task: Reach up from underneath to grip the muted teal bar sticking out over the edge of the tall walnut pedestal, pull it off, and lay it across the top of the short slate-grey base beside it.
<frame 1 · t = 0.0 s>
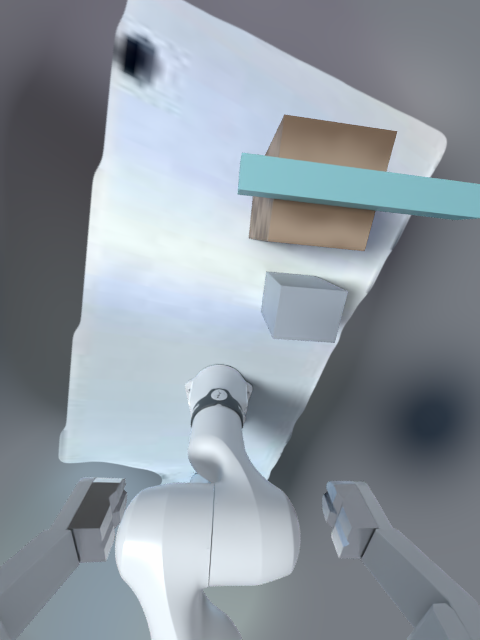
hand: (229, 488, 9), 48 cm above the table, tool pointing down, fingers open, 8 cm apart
teal bar: (354, 192, 26), point 26 cm above the table, touching walnut pedestal
walnut pedestal: (279, 211, 50), on the table
slate base: (287, 294, 56), on the table
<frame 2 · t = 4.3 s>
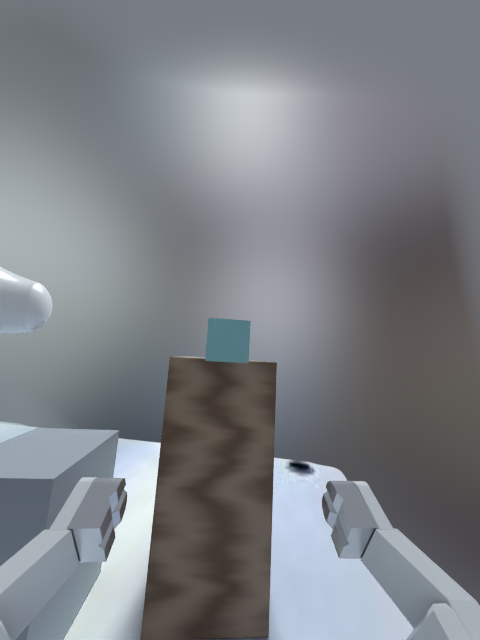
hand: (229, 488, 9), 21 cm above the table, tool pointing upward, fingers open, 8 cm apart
teal bar: (223, 359, 29), point 26 cm above the table, touching walnut pedestal
walnut pedestal: (208, 578, 27), on the table
slate base: (10, 633, 21), on the table
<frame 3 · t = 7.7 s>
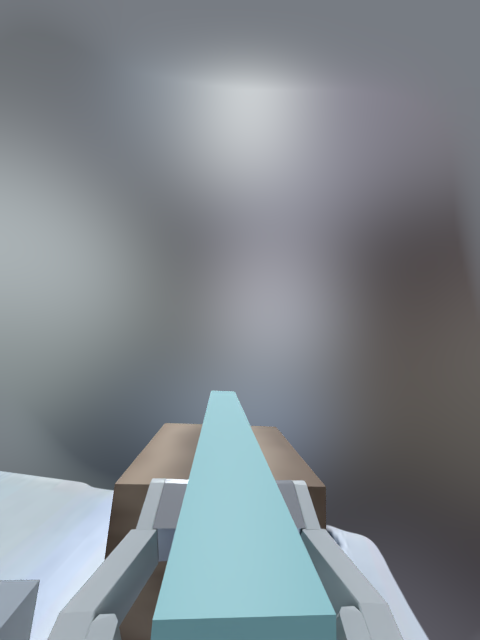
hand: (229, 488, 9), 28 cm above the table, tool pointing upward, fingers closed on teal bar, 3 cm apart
teal bar: (222, 461, 16), point 26 cm above the table, touching gripper, walnut pedestal
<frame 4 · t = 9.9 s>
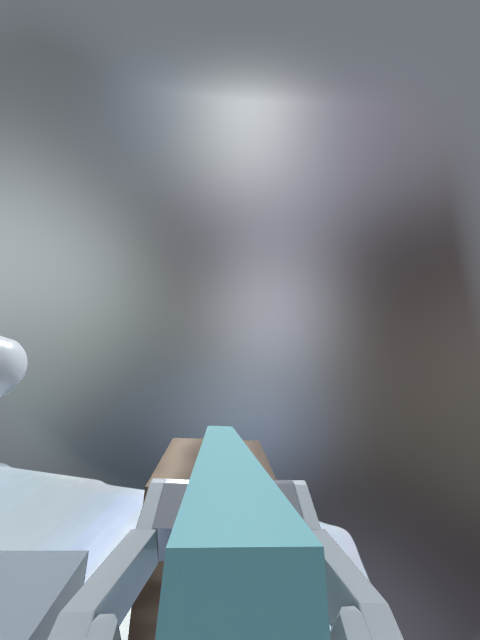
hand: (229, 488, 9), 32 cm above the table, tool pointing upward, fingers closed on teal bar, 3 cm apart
teal bar: (220, 492, 15), point 29 cm above the table, tilted 11°, touching gripper
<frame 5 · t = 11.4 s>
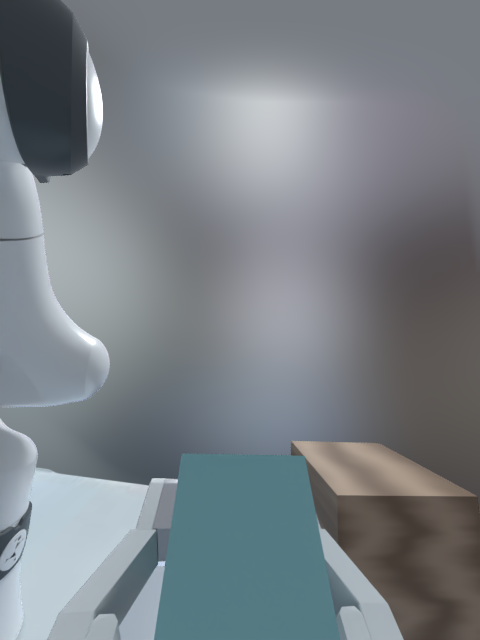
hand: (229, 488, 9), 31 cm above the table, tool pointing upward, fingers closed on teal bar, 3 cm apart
teal bar: (217, 589, 12), point 24 cm above the table, tilted 36°, touching gripper
when the fingers open (20 cm above the table, at t = 15.0 s): teal bar stays where it is, resting on slate base.
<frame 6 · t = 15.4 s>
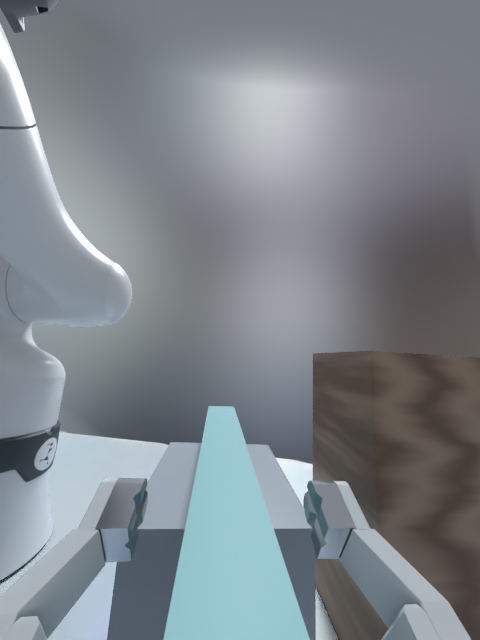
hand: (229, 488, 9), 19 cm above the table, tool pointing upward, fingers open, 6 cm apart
teal bar: (221, 500, 14), point 16 cm above the table, touching slate base
walnut pedestal: (400, 637, 21), on the table
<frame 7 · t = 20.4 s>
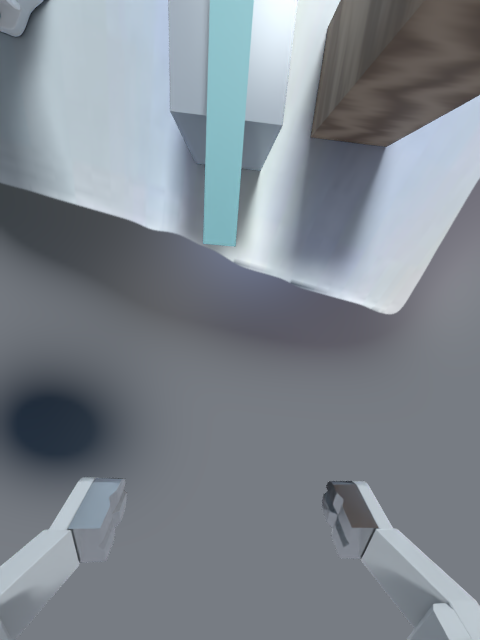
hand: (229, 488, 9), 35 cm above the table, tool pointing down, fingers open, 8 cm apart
teal bar: (229, 83, 19), point 16 cm above the table, touching slate base
walnut pedestal: (359, 91, 33), on the table
slate base: (231, 118, 33), on the table
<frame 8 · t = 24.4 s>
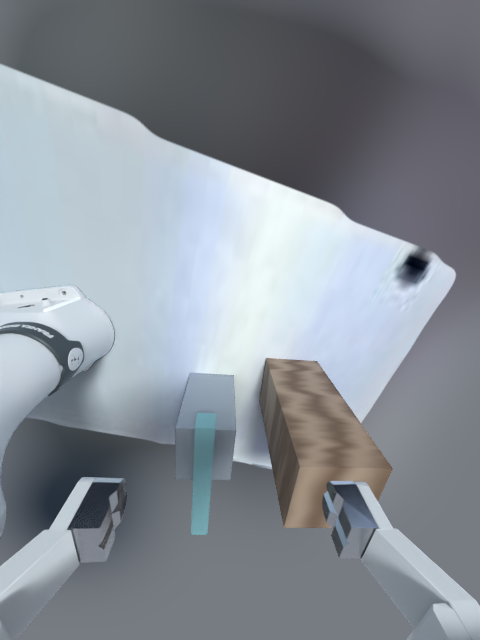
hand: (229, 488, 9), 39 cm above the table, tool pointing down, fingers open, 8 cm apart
teal bar: (203, 470, 41), point 16 cm above the table, touching slate base
walnut pedestal: (287, 381, 55), on the table
slate base: (210, 395, 55), on the table
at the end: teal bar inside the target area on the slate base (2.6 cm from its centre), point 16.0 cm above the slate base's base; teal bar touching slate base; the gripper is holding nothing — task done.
